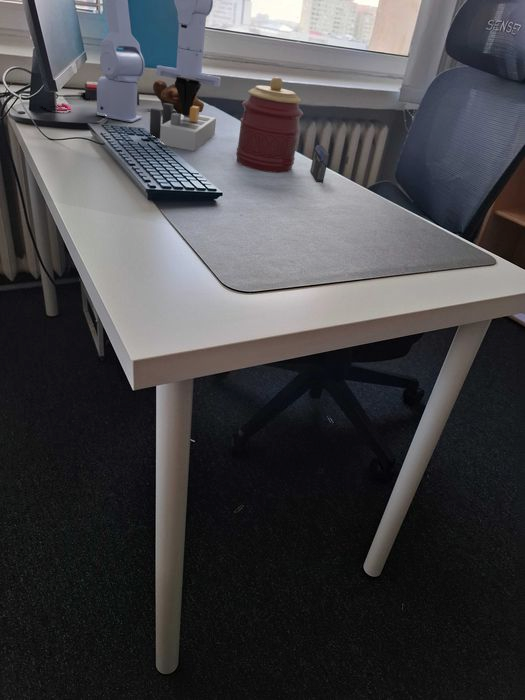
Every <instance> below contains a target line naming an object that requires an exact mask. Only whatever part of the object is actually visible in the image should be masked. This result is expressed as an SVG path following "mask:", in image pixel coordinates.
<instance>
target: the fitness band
mask: <svg viewBox="0 0 525 700" xmlns="http://www.w3.org/2000/svg"><path fill="white" fill-rule="evenodd" d="M56 104H57V106H58V107H65V108H67V109H62V108H58V107H57V108H56V110H57V111H67V110H71V111H72V108H71V106H70V105H68V104H66V103H61V104H58V103H56Z"/></svg>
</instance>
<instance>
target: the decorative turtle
mask: <svg viewBox="0 0 525 700" xmlns="http://www.w3.org/2000/svg"><path fill="white" fill-rule="evenodd" d="M152 90H153V92H154V94H155V96H156V98H157V99H158V100H159V101H160V102H161V107H162V108H163V103H168V104H172V105H173V110H174V111H175V113H178V114H182V107H181V102H180V98H179V94H178V91H177V89H176V86H175V83H173V84H170V85H169V86H168V85H167V83H166V82H165V81H164V80H156V81H154V83H153V85H152ZM192 106H198V107H199V113H202V112H203V110H204V107H205V104H204V102H202V101H201V100H199V99H198V96H197V95H196V96H195V98H194V101H193V104H192Z"/></svg>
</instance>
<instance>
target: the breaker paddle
mask: <svg viewBox="0 0 525 700" xmlns="http://www.w3.org/2000/svg"><path fill="white" fill-rule="evenodd" d="M199 115H200V112H199V107H198V106H192V107H190V117H189V121H192V122H197V121H198V118H199Z"/></svg>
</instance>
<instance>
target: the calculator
mask: <svg viewBox="0 0 525 700" xmlns="http://www.w3.org/2000/svg"><path fill="white" fill-rule="evenodd" d="M97 83H98V81H86V82H85V83H84V93H85V94H84V95H85V100H92V101H97ZM137 106H140V93H139V91H138V89H137Z"/></svg>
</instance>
